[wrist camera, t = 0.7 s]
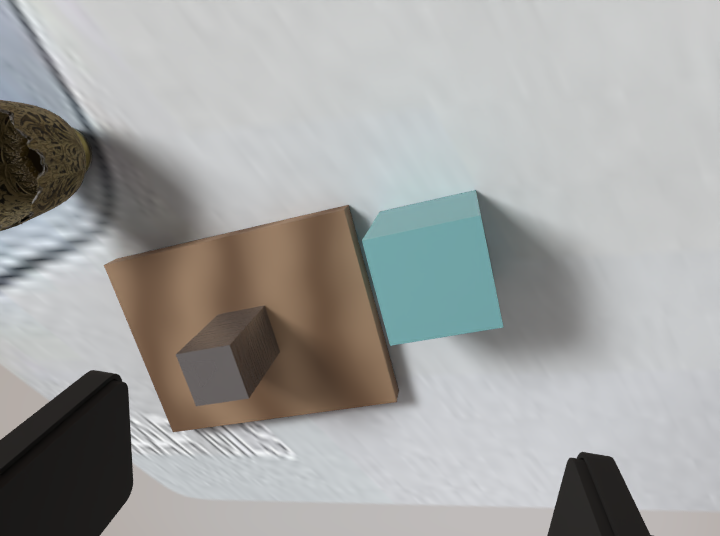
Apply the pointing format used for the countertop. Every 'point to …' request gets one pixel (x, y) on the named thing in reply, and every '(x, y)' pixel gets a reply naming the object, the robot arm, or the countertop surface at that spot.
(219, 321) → the metal post
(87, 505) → the robot arm
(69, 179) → the olive patterned hollow container
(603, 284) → the countertop surface
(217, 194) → the countertop surface
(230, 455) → the countertop surface
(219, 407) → the walnut board
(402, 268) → the aqua foam cube
